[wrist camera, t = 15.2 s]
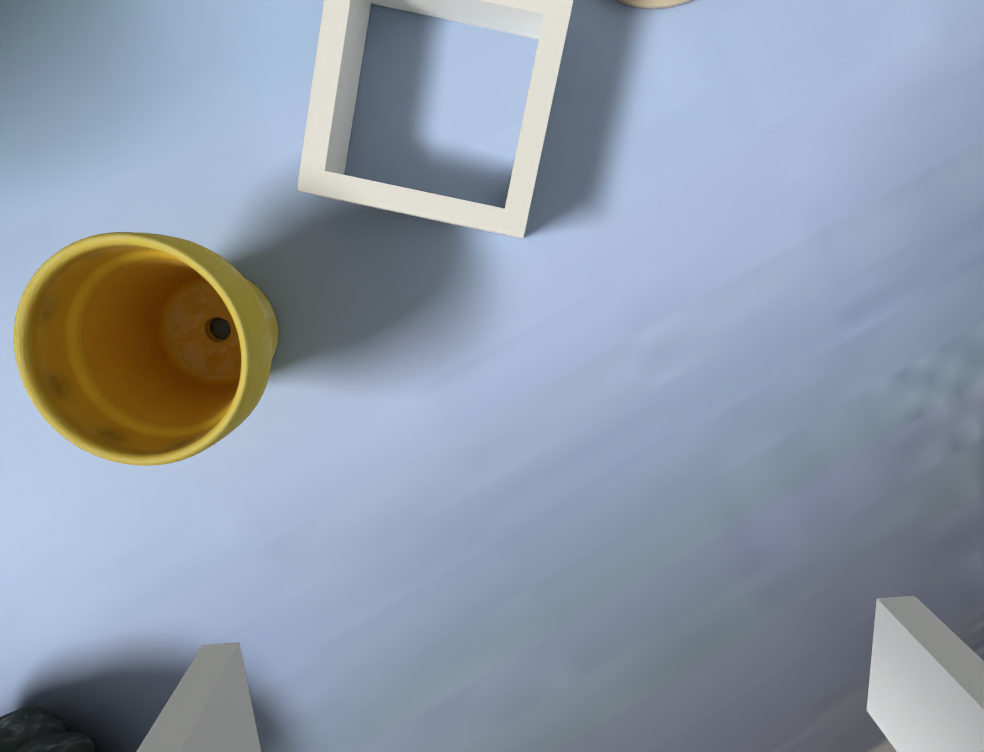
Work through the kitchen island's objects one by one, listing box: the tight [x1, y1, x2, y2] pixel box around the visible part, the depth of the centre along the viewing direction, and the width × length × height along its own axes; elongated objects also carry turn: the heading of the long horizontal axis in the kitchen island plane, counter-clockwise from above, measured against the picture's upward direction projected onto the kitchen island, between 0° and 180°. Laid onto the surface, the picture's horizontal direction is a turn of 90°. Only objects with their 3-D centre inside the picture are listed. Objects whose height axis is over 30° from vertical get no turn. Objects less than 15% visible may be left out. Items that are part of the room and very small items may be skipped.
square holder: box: [297, 0, 573, 239], centre depth 34 cm, size 11×11×4 cm
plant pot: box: [14, 232, 278, 465], centre depth 34 cm, size 10×10×10 cm
